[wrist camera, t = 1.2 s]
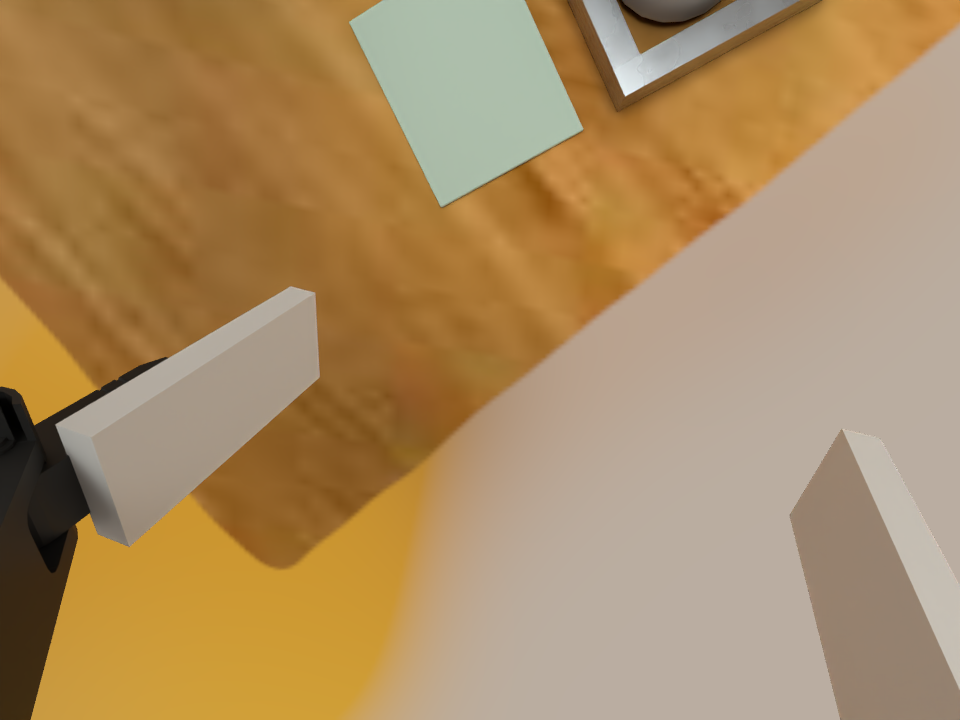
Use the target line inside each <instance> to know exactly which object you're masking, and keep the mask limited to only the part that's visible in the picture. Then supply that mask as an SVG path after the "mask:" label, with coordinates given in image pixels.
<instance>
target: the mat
mask: <svg viewBox="0 0 960 720" xmlns="http://www.w3.org/2000/svg"><path fill="white" fill-rule="evenodd" d="M349 23H350V25H351V27H352V29H353V31H354V33H355V35H356V37H357V39H358V41H359V43H360V45H361V47H362V49H363V51H364V53H365V55H366V57H367V59H368V61H369V63H370V65H371V67H372V69H373V71H374V73H375V75H376V77H377V80H378V82H379V84H380V86H381V88H382V90H383V92H384V94H385V96H386V98H387V100H388V102H389V104H390V106H391V108H392V110H393V112H394V114H395V116H396V118H397V120H398V122H399V124H400V126H401V128H402V130H403V132H404V134H405V136H406V138H407V140H408V142H409V144H410V146H411V148H412V150H413V152H414V154H415V156H416V158H417V160H418V162H419V164H420V166H421V168H422V170H423V172H424V174H425V176H426V178H427V180H428V182H429V184H430V186H431V188H432V190H433V192H434V194H435V196H436V198H437V200H438V202H439V204H440V207H444V206H446V205H448V204H450V203H452V202H453V201H455V200H457V199H459V198H461V197H463V196H464V195H466V194H468V193H470V192H472V191H474V190H475V189H477V188H479V187H481V186H483V185H485V184H486V183H488V182H490V181H492V180H494V179H496V178H497V177H499V176H501V175H503V174H505V173H507V172H508V171H510V170H512V169H514V168H516V167H518V166H519V165H521V164H523V163H525V162H527V161H529V160H530V159H532V158H534V157H536V156H538V155H540V154H541V153H543V152H545V151H547V150H549V149H551V148H552V147H554V146H556V145H558V144H560V143H562V142H563V141H565V140H567V139H569V138H571V137H573V136H574V135H576V134H578V133H580V132H582V131H583V127H582V125H581V123H580V121H579V119H578V116H577V114H576V112H575V110H574V108H573V105H572V103H571V101H570V99H569V97H568V94H567V92H566V90H565V88H564V86H563V83H562V81H561V79H560V77H559V75H558V73H557V70H556V68H555V66H554V64H553V62H552V59H551V57H550V55H549V53H548V51H547V48H546V46H545V44H544V42H543V40H542V37H541V35H540V33H539V31H538V29H537V26H536V24H535V22H534V20H533V18H532V15H531V13H530V11H529V9H528V7H527V4H526V2H525V0H383V1H381V2H379V3H378V4H376V5H375V6H373V7H372V8H370V9H368V10H367V11H365V12H364V13H362V14H361V15H359V16H358V17H356V18H354V19H353V20H351V21H350V22H349Z"/></svg>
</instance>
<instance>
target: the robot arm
mask: <svg viewBox="0 0 960 720" xmlns="http://www.w3.org/2000/svg"><path fill="white" fill-rule="evenodd" d="M319 377H320V372H319V353H318V335H317V316H316V297H315V293H314V292H310V291H307V290H303V289H299V288H295V287H291V286H290V287H289V288H287V289H285V290H284V291H282V292H280V293H278V294H277V295H275V296H273V297H272V298H270V299H268V300H267V301H265V302H263V303H261V304H260V305H258V306H256V307H255V308H253V309H251V310H250V311H248V312H246V313H244V314H243V315H241V316H239V317H238V318H236V319H234V320H233V321H231V322H229V323H227V324H226V325H224V326H222V327H221V328H219V329H217V330H215V331H214V332H212V333H210V334H209V335H207V336H205V337H204V338H202V339H200V340H198V341H197V342H195V343H193V344H192V345H190V346H188V347H187V348H185V349H183V350H181V351H180V352H178V353H176V354H175V355H173V356H171V357H170V358H167V357H164V358H161V359H158V360H155V361H152V362H149V363H146V364H143V365H140V366H138V367H136V368H134V369H133V370H131V371H129V372H127V373H126V374H124V375H122V376H120V377H119V379H118V380H117V381H116V380H113V381H112V382H110V383H108V384H106V385H105V386H103V387H101V390H100V391H99V390H96V391H94V392H92V393H91V394H89V395H87V396H85V397H84V398H82V399H80V400H78V401H77V402H75V403H73V404H71V405H70V406H68V407H66V408H64V409H63V410H61V411H59V412H57V413H56V414H54V415H52V416H50V417H48V418H47V419H45V420H43V421H41V422H40V423H38V424H36V425H34V424H33V422H32V419H31V417H30V415H29V412H28V410H27V408H26V405H25V403H24V400H23V398H22V396H21V395H20V394H19V393H18V392H17V391H16V390H14V389H9V388H5V387H0V720H30V719H31V716H32V712H33V708H34V704H35V701H36V697H37V693H38V689H39V685H40V681H41V678H42V674H43V670H44V666H45V662H46V658H47V654H48V650H49V647H50V643H51V639H52V635H53V632H54V627H55V624H56V620H57V616H58V612H59V609H60V605H61V601H62V597H63V593H64V589H65V586H66V582H67V578H68V574H69V570H70V566H71V563H72V559H73V555H74V551H75V547H76V544H77V539H78V532H77V528H76V525H75V524H76V523H77V522H79V521H80V520H81V519H82V518H84V517H85V516H86V515H88V514H89V513H90V515H91V518H92V520H93V523H94V526H95V528H96V531H97V533H98V534H99V535H101V536H104V537H106V538H109V539H111V540H114V541H116V542H119V543H121V544H124V545H126V546H129V547H130V546H131V545H132V544H133V543H134V542H135V541H136V540H137V539H139V538H140V537H141V536H142V535H143V534H144V533H145V532H146V531H148V530H149V529H150V528H151V527H152V526H153V525H154V524H156V523H157V522H158V521H159V520H160V519H161V518H162V517H163V516H165V515H166V514H167V513H168V512H169V511H170V510H171V509H172V508H173V507H174V506H176V505H177V504H178V503H179V502H180V501H181V500H182V499H183V498H185V497H186V496H187V495H188V494H189V493H190V492H191V491H193V490H194V489H195V488H196V487H197V486H198V485H199V484H200V483H202V482H203V481H204V480H205V479H206V478H207V477H208V476H209V475H211V474H212V473H213V472H214V471H215V470H216V469H217V468H218V467H220V466H221V465H222V464H223V463H224V462H225V461H226V460H227V459H229V458H230V457H231V456H232V455H233V454H234V453H235V452H236V451H237V450H239V449H240V448H241V447H242V446H243V445H244V444H245V443H246V442H248V441H249V440H250V439H251V438H252V437H253V436H254V435H255V434H257V433H258V432H259V431H260V430H261V429H262V428H263V427H264V426H266V425H267V424H268V423H269V422H270V421H271V420H272V419H273V418H275V417H276V416H277V415H278V414H279V413H280V412H281V411H282V410H284V409H285V408H286V407H287V406H288V405H289V404H290V403H291V402H293V401H294V400H295V399H296V398H297V397H298V396H299V395H300V394H301V393H303V392H304V391H305V390H306V389H307V388H308V387H309V386H310V385H312V384H313V383H314V382H315V381H316V380H317V379H318V378H319ZM790 519H791V523H792V527H793V531H794V535H795V539H796V543H797V547H798V551H799V555H800V559H801V563H802V568H803V571H804V576H805V580H806V583H807V587H808V592H809V595H810V600H811V603H812V607H813V612H814V616H815V620H816V624H817V628H818V632H819V635H820V640H821V644H822V648H823V652H824V656H825V660H826V663H827V668H828V672H829V676H830V679H831V684H832V688H833V692H834V696H835V699H836V703H837V708H838V712H839V716H840V720H960V585H959V583H958V581H957V579H956V578H955V576H954V574H953V572H952V570H951V568H950V566H949V565H948V563H947V561H946V559H945V557H944V555H943V553H942V552H941V550H940V548H939V546H938V544H937V543H936V540H935V539H934V537H933V535H932V533H931V532H930V529H929V528H928V526H927V524H926V522H925V520H924V518H923V517H922V515H921V513H920V511H919V509H918V507H917V505H916V503H915V502H914V500H913V498H912V496H911V494H910V492H909V490H908V489H907V487H906V485H905V483H904V481H903V480H902V478H901V476H900V474H899V472H898V470H897V468H896V466H895V465H894V463H893V461H892V459H891V457H890V455H889V454H888V452H887V450H886V448H885V446H884V444H883V443H882V441H881V439H880V438H877V437H874V436H869V435H866V434H862V433H858V432H854V431H850V430H846V429H841V431H840V432H839V434H838V436H837V437H836V439H835V441H834V442H833V444H832V446H831V447H830V449H829V451H828V452H827V454H826V456H825V457H824V459H823V461H822V462H821V464H820V466H819V467H818V469H817V471H816V472H815V474H814V476H813V477H812V479H811V480H810V482H809V484H808V486H807V487H806V489H805V490H804V492H803V494H802V495H801V497H800V499H799V500H798V502H797V504H796V505H795V507H794V509H793V511H792V512H791V514H790Z"/></svg>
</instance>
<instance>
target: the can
mask: <svg viewBox="0 0 960 720" xmlns="http://www.w3.org/2000/svg"><path fill="white" fill-rule="evenodd" d="M622 1H623V2H624V4H625V5H627V6H628V7H629V8H631V9H632V10H633V11H635V12H636V13H637V14H639V15H640V16H641V17H645V18H648V19H652V20H655V21H659V22H679V21H686V20H688V19H691V18H693V17H696V16H698V15H701V14H703V13H706V12H707V11H708V10H710V9H711V8H712V7H713V6H715V5H716V4H717V3H718V2H720V1H721V0H622Z"/></svg>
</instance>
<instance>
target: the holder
mask: <svg viewBox="0 0 960 720" xmlns="http://www.w3.org/2000/svg"><path fill="white" fill-rule="evenodd" d="M820 1H822V0H737V1H735V2H733V3H731V4H729V5H728V6H726V7H724V8H722V9H721V10H719V11H717V12H715V13H713V14H712V15H710V16H708V17H706V18H704V19H703V20H701V21H699V22H697V23H696V24H694V25H692V26H690V27H688V28H687V29H685V30H683V31H681V32H680V33H678V34H676V35H674V36H672V37H671V38H669V39H667V40H665V41H664V42H662V43H660V44H658V45H656V46H655V47H653V48H651V49H649V50H648V51H646V52H644V53H642V54H639V51H638V49H637V47H636V44H635V42H634V40H633V37H632V35H631V33H630V31H629V28H628V26H627V24H626V21H625V19H624V17H623V15H622V12H621V10H620V8H619V5H618V3H617V1H616V0H568V3H569V5H570V7H571V9H572V12H573V14H574V16H575V18H576V21H577V23H578V25H579V27H580V30H581V32H582V34H583V36H584V39H585V41H586V43H587V45H588V48H589V50H590V52H591V54H592V56H593V59H594V61H595V63H596V65H597V68H598V70H599V72H600V74H601V77H602V79H603V81H604V83H605V86H606V88H607V90H608V92H609V95H610V97H611V99H612V101H613V104H614V106H615V108H616V110H617V112H618V111H620V110H622V109H624V108H626V107H627V106H629V105H631V104H633V103H635V102H637V101H638V100H640V99H642V98H644V97H646V96H648V95H649V94H651V93H653V92H655V91H657V90H659V89H660V88H662V87H664V86H666V85H668V84H670V83H671V82H673V81H675V80H677V79H679V78H681V77H682V76H684V75H686V74H688V73H690V72H692V71H693V70H695V69H697V68H699V67H701V66H703V65H704V64H706V63H708V62H710V61H712V60H714V59H715V58H717V57H719V56H721V55H723V54H725V53H726V52H728V51H730V50H732V49H734V48H736V47H737V46H739V45H741V44H743V43H745V42H747V41H748V40H750V39H752V38H754V37H756V36H758V35H759V34H761V33H763V32H765V31H767V30H769V29H770V28H772V27H774V26H776V25H778V24H780V23H781V22H783V21H785V20H787V19H789V18H791V17H792V16H794V15H796V14H798V13H800V12H802V11H803V10H805V9H807V8H809V7H811V6H813V5H814V4H816V3H818V2H820Z"/></svg>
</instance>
